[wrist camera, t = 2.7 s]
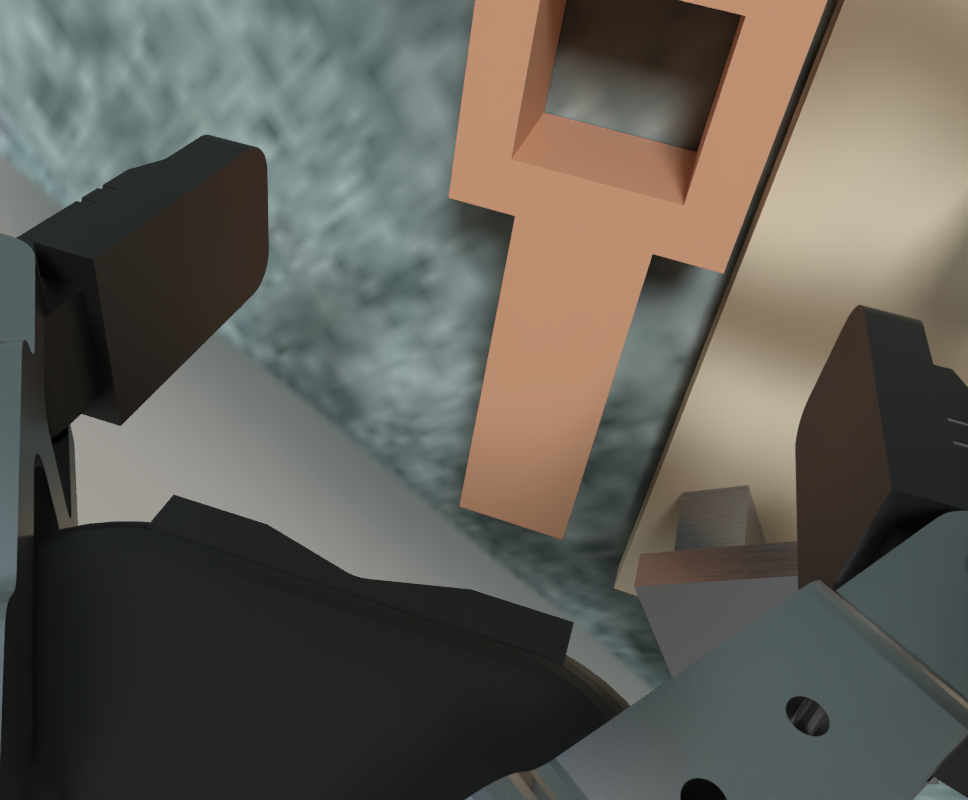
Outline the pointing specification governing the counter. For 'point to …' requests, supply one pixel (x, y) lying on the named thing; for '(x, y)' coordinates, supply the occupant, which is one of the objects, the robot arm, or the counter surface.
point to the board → (830, 257)
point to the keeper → (713, 576)
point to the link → (593, 232)
